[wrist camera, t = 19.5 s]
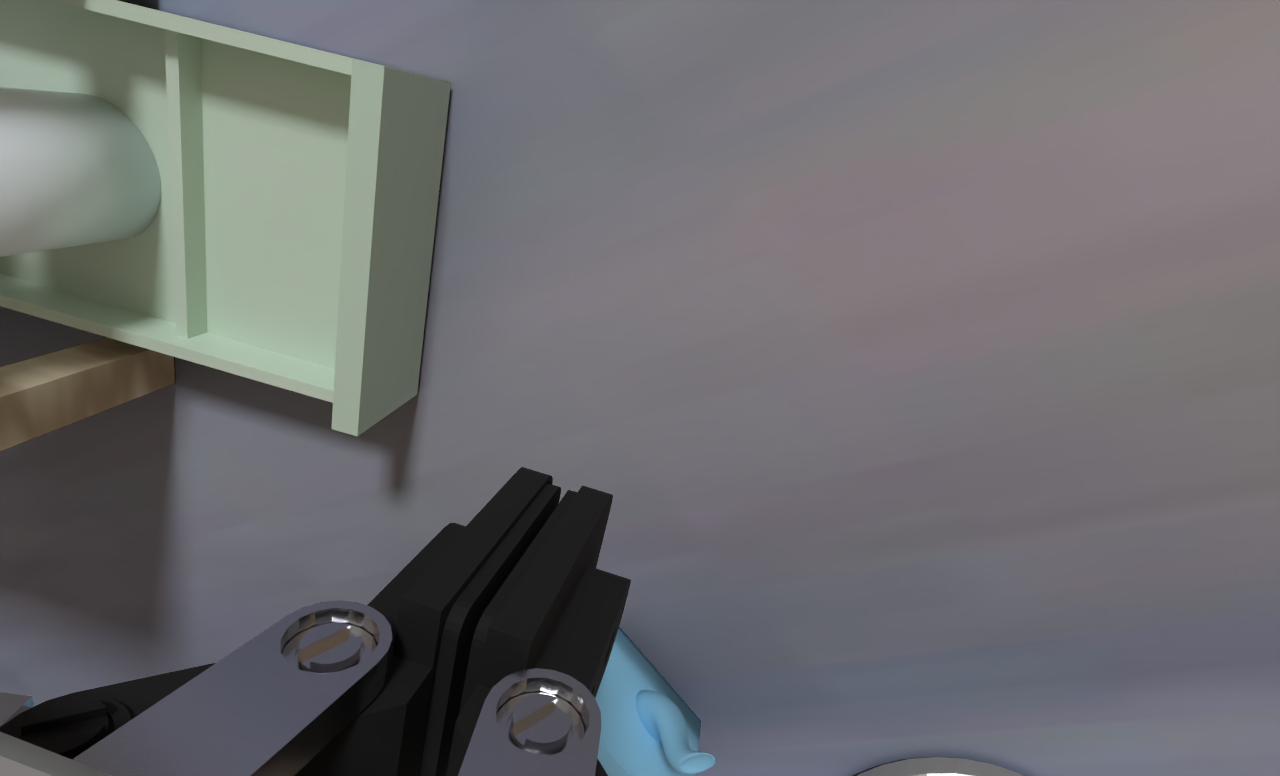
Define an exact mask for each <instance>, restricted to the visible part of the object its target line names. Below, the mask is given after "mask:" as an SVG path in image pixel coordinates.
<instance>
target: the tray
mask: <svg viewBox="0 0 1280 776" xmlns="http://www.w3.org/2000/svg"><path fill="white" fill-rule="evenodd" d="M0 87H7V88H20V89H32V90H44V91H56V92H69V93H81V94H89V95H93V96H96V97H99V98H101V99H104V100H105V101H107V102H109V103H111V104H113V105H114V106H115V107H117V108H118V109H120V110H121V111H122V112H123V113H124V114H125V115H127V116H128V117H129V118H130V119H131V120H132V122H133V123H134V124H135V125H136V126H137V127H138V129H139V130H140V131H141V133H142V134H143V136H144V137H145V139H146V141H147V142H148V144H149V146H150V148H151V150H152V152H153V155H154V157H155V160H156V163H157V167H158V170H159V176H160V183H161V198H160V204H159V208H158V211H157V214H156V216H155V218H154V220H153V221H152V223H151V224H150V225H149V227H148V228H147V229H146V230H144V231H143V232H142V233H140V234H139V235H137V236H134V237H131V238H127V239H121V240H114V241H107V242H100V243H93V244H86V245H79V246H72V247H65V248H58V249H52V250H45V251H38V252H31V253H24V254H17V255H10V256H3V257H0V306H1V307H5V308H8V309H12V310H15V311H19V312H22V313H25V314H29V315H32V316H36V317H39V318H43V319H46V320H49V321H53V322H56V323H60V324H63V325H67V326H70V327H74V328H77V329H80V330H84V331H87V332H91V333H94V334H98V335H101V336H105V337H108V338H111V339H115V340H118V341H122V342H125V343H129V344H132V345H136V346H139V347H142V348H146V349H149V350H153V351H156V352H160V353H163V354H167V355H170V356H173V357H177V358H180V359H184V360H187V361H191V362H194V363H197V364H201V365H204V366H208V367H211V368H215V369H218V370H222V371H225V372H228V373H232V374H235V375H239V376H242V377H246V378H249V379H253V380H256V381H259V382H263V383H266V384H270V385H273V386H277V387H280V388H284V389H287V390H290V391H294V392H297V393H301V394H304V395H308V396H311V397H315V398H318V399H321V400H325V401H328V402H332V403H333V412H332V429H333V430H337V431H340V432H343V433H347V434H350V435H354V436H357V437H358V436H359V435H360V434H362V433H363V432H365V431H366V430H367V429H369V428H370V427H372V426H373V425H375V424H376V423H377V422H379V421H380V420H382V419H383V418H385V417H386V416H387V415H389V414H390V413H392V412H393V411H394V410H396V409H397V408H399V407H400V406H402V405H403V404H404V403H406V402H407V401H409V400H410V399H412V398H413V397H414V396H416V395H417V391H418V382H419V372H420V363H421V354H422V345H423V335H424V326H425V317H426V308H427V299H428V289H429V280H430V271H431V262H432V253H433V243H434V234H435V225H436V216H437V206H438V197H439V188H440V179H441V170H442V160H443V151H444V142H445V133H446V123H447V114H448V105H449V96H450V87H451V82H447V81H443V80H439V79H435V78H431V77H427V76H422V75H418V74H414V73H410V72H406V71H402V70H398V69H394V68H390V67H386V66H382V65H378V64H374V63H370V62H366V61H362V60H358V59H353V58H349V57H345V56H341V55H337V54H333V53H329V52H325V51H321V50H317V49H313V48H309V47H305V46H301V45H297V44H293V43H289V42H284V41H280V40H276V39H272V38H268V37H264V36H260V35H256V34H252V33H248V32H244V31H240V30H236V29H232V28H228V27H224V26H220V25H215V24H211V23H207V22H203V21H199V20H195V19H191V18H187V17H183V16H179V15H175V14H171V13H167V12H163V11H159V10H155V9H151V8H146V7H142V6H138V5H134V4H130V3H126V2H122V1H118V0H0Z"/></svg>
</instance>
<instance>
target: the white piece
mask: <svg viewBox="0 0 1280 776" xmlns="http://www.w3.org/2000/svg"><path fill="white" fill-rule="evenodd" d="M160 198H161V183H160V176H159V170H158V167H157V163H156V160H155V157H154V155H153V152H152V150H151V148H150V146H149V144H148V142H147V141H146V139H145V137H144V136H143V134H142V133H141V131H140V130H139V129H138V127H137V126H136V125H135V124H134V123H133V122H132V120H131V119H130V118H129V117H128V116H127V115H125V114H124V113H123V112H122V111H121V110H120V109H118V108H117V107H115V106H114V105H113V104H111V103H109V102H107V101H105V100H104V99H101V98H99V97H96V96H93V95H89V94H81V93H69V92H56V91H44V90H32V89H20V88H7V87H0V257H3V256H10V255H17V254H24V253H31V252H38V251H45V250H52V249H58V248H65V247H72V246H79V245H86V244H93V243H100V242H107V241H114V240H121V239H127V238H131V237H134V236H137V235H139V234H140V233H142V232H143V231H144V230H146V229H147V228H148V227H149V225H150V224H151V223H152V221H153V220H154V218H155V216H156V214H157V211H158V208H159V204H160Z"/></svg>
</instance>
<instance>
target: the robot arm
mask: <svg viewBox="0 0 1280 776" xmlns="http://www.w3.org/2000/svg"><path fill="white" fill-rule="evenodd" d="M552 481H553V478H552V476H550V475H546V474H543V473H540V472H537V471H533V470H530V469H527V468H524V467H521V468H520V469H519V470H518V471H517V472H516V473H515V474H514V475H513V476H512V478H511V479H510V480H509V481H508V482H507V483H506V484H505V485H504V486H503V487H502V488H501V489H500V490H499V492H498V493H497V494H496V495H495V496H494V497H493V498H492V499H491V500H490V501H489V502H488V503H487V504H486V506H485V507H484V508H483V509H482V510H481V511H480V512H479V513H478V514H477V515H476V516H475V517H474V518H473V520H472V521H471V522H470V523H469V524H468V525H467V526H462V525H459V524H456V523H450V524H448V525H447V526H446V527H444V528H443V529H442V530H441V532H440V533H439V534H438V535H437V536H436V537H435V538H434V539H433V540H432V541H431V542H430V543H429V544H428V545H427V546H426V547H425V548H424V549H423V550H422V551H421V552H420V553H419V554H418V555H417V556H416V557H415V558H414V559H413V560H412V561H411V562H410V563H409V564H408V565H407V566H406V567H405V568H404V569H403V570H402V571H401V572H400V573H399V574H398V575H397V576H396V577H395V578H394V579H393V580H392V581H391V582H390V583H389V584H388V585H387V586H386V587H385V588H384V589H383V590H382V591H381V592H380V593H379V594H378V595H377V596H376V597H375V598H374V599H373V600H372V601H371V602H370V603H369V604H368V605H364V604H361V603H358V602H350V601H340V600H339V601H328V602H320V603H316V604H313V605H309V606H306V607H303V608H301V609H299V610H297V611H295V612H293V613H291V614H289V615H287V616H286V617H284V618H283V619H281V620H280V621H278V622H277V623H275V624H274V625H272V626H271V627H269V628H268V629H266V630H265V631H263V632H262V633H260V634H259V635H257V636H256V637H254V638H253V639H251V640H250V641H248V642H247V643H245V644H244V645H242V646H241V647H239V648H238V649H236V650H235V651H233V652H232V653H230V654H229V655H227V656H226V657H224V658H223V659H221V660H220V661H218V662H217V663H213V664H208V665H204V666H199V667H194V668H189V669H185V670H180V671H175V672H170V673H166V674H161V675H156V676H151V677H147V678H142V679H137V680H133V681H128V682H123V683H118V684H114V685H109V686H104V687H99V688H95V689H90V690H85V691H80V692H76V693H72V694H68V695H65V696H61V697H58V698H55V699H51V700H48V701H45V702H43V703H41V704H39V705H37V706H35V707H33V699H32V696H26V695H19V694H11V693H4V692H0V776H608V775H607V773H606V771H605V770H604V768H603V766H602V765H601V763H600V761H599V760H598V758H597V757H598V749H599V742H600V734H601V711H600V709H599V706H598V704H597V702H596V699H595V698H596V695H597V692H598V689H599V686H600V684H601V681H602V678H603V675H604V672H605V669H606V667H607V664H608V661H609V658H610V654H611V651H612V648H613V645H614V642H615V638H616V635H617V632H618V628H619V625H620V621H621V617H622V614H623V610H624V606H625V603H626V599H627V595H628V591H629V587H630V582H631V580H630V579H627V578H624V577H620V576H617V575H614V574H611V573H608V572H605V571H602V570H599V569H596V565H597V561H598V557H599V553H600V549H601V545H602V541H603V537H604V533H605V529H606V524H607V520H608V516H609V512H610V508H611V504H612V498H613V495H611V494H608V493H605V492H602V491H598V490H595V489H592V488H589V487H585V486H582V487H581V488H580V490H579V491H578V493H577V492H574V491H571V490H568V491H567V493H566V494H565V496H564V497H563V498H562V500H561V501H560V503H559V499H560V494H561V488H560V487H558V486H555V485H552ZM857 776H1024V775H1022V774H1019V773H1017V772H1014V771H1011V770H1008V769H1005V768H1002V767H999V766H997V765H994V764H989V763H984V762H979V761H974V760H969V759H962V758H946V757H928V758H915V759H906V760H902V761H897V762H893V763H888V764H884V765H881V766H878V767H876V768H873V769H871V770H868V771H866V772H863V773H861V774H859V775H857Z"/></svg>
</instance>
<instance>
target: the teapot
mask: <svg viewBox="0 0 1280 776" xmlns="http://www.w3.org/2000/svg"><path fill="white" fill-rule="evenodd" d="M595 699H596V702H597V704H598V706H599V709H600V711H601V734H600V742H599V749H598V757H597V758H598V760H599V761H600V763H601V765H602V766H603V768H604V770H605V771H606V773H607V775H608V776H696V773H700V772H703V771H705V770H707V769H709V768H710V767H712V766H713V765H714V763H715V758H714V757H713V756H712V755H710V754H708V753H703V752H698V747H699V737H700V727H701V721H700V719H699V718H698V717H697V716H696V715H695V714H694V712H693V711H692V710H691V709H690V708H689V707H688V706H687V704H686V703H685V702H684V701H683V700H682V699H681V697H680V696H679V695H678V694H677V693H676V692H675V691H674V689H673V688H672V687H671V686H670V685H669V684H668V682H667V681H666V680H665V679H664V678H663V677H662V676H661V674H660V673H659V672H658V671H657V670H656V669H655V667H654V666H653V665H652V664H651V663H650V662H649V661H648V659H647V658H646V657H645V656H644V655H643V654H642V652H641V651H640V650H639V649H638V648H637V647H636V646H635V644H634V643H633V642H632V641H631V640H630V639H629V637H628V636H627V635H626V634H625V633H624V632H623V631H622V629H621V628H620V627H619V628H618V632H617V635H616V638H615V642H614V645H613V648H612V651H611V654H610V658H609V661H608V664H607V667H606V669H605V672H604V675H603V678H602V681H601V684H600V686H599V689H598V692H597V695H596V698H595Z"/></svg>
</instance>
